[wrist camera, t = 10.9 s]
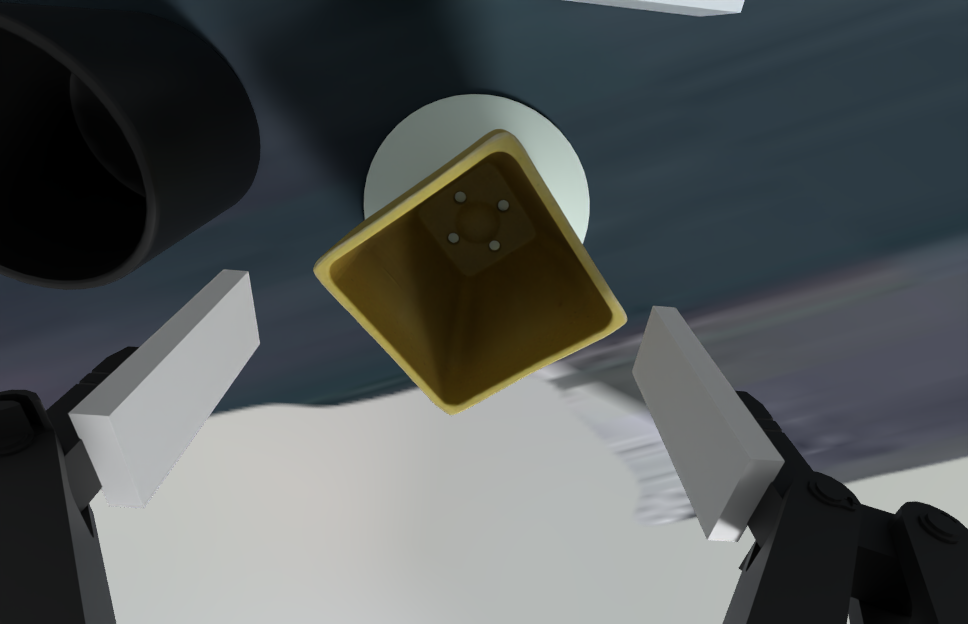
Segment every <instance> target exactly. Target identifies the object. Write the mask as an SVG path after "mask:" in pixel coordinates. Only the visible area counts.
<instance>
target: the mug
mask: <svg viewBox="0 0 968 624" xmlns="http://www.w3.org/2000/svg"><path fill="white" fill-rule="evenodd" d="M259 160H260V136H259V127H258V124H257V120H256V116H255V113H254V110H253V107H252V105H251V102H250V100H249V97H248V95H247V93H246V92H245V90H244V88H243V86H242V85H241V83H240V81H239V80H238V78H237V77H236V76H235V74H234V73H233V71H232V70H231V69H230V67H229V66H228V65H227V64H226V63H225V62H224V61H223V60H222V58H221V57H220V56H219V55H218V54H217V53H216V52H215V51H214V50H213V49H212V48H211V47H209V46H208V45H207V44H206V43H205V42H203V41H202V40H201V39H200V38H199V37H197V36H196V35H194V34H192V33H191V32H189V31H188V30H186V29H185V28H183V27H181V26H179V25H177V24H175V23H173V22H171V21H169V20H167V19H164V18H161V17H157V16H154V15H151V14H146V13H140V12H133V11H120V10H105V9H90V8H76V7H61V6H46V5H31V4H16V3H1V2H0V274H2V275H5V276H7V277H10V278H13V279H16V280H18V281H21V282H24V283H28V284H33V285H37V286H41V287H47V288H55V289H64V290H68V289H87V288H93V287H98V286H104V285H106V284H109V283H112V282H114V281H117V280H119V279H121V278H123V277H125V276H126V275H128V274H129V273H131V272H133V271H134V270H136V269H137V268H139V267H140V266H142V265H143V264H145V263H146V262H148V261H149V260H151V259H152V258H154V257H155V256H157V255H158V254H160V253H162V252H163V251H165V250H166V249H168V248H169V247H171V246H172V245H174V244H175V243H177V242H178V241H180V240H181V239H183V238H184V237H186V236H187V235H189V234H190V233H192V232H194V231H195V230H197V229H198V228H200V227H201V226H203V225H204V224H206V223H207V222H209V221H210V220H212V219H213V218H215V217H216V216H218V215H219V214H221V213H222V212H224V211H225V210H227V209H229V208H230V207H232V206H233V205H235V204H236V203H237V202H238V201H239V200H240V199H241V198H242V197H243V196H244V195H245V194H246V192H247V191H248V189H249V188H250V186H251V185H252V183H253V180H254V178H255V176H256V173H257V169H258V165H259Z"/></svg>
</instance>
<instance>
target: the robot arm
mask: <svg viewBox="0 0 968 624" xmlns="http://www.w3.org/2000/svg"><path fill="white" fill-rule="evenodd" d="M259 344H260V341H259V335H258V328H257V322H256V316H255V309H254V303H253V297H252V291H251V284H250V278H249V272H248V271H237V270H226V269H223V270H222V271H221V272H220V273H219V274H218V275H217V276H216V277H215V278H214V279H213V280H212V281H210V282H209V283H208V284H207V285H206V286H205V287H204V288H203V289H202V290H201V291H200V292H199V293H198V294H196V295H195V296H194V297H193V298H192V299H191V300H190V301H189V302H188V303H187V304H186V305H185V306H184V307H182V308H181V309H180V310H179V311H178V312H177V313H176V314H175V315H174V316H173V317H172V318H171V319H170V320H168V321H167V322H166V323H165V324H164V325H163V326H162V327H161V328H160V329H159V330H158V331H157V332H156V333H154V334H153V335H152V336H151V337H150V338H149V339H148V340H147V341H146V342H145V343H144V344H143V345H141V346H140V347H129V346H128V347H126V348H124V349H123V350H121V351H119V352H117V353H115V354H113V355H111V356H109V357H107V358H106V359H105V360H104V361H102V362H101V363H100V364H99V365H98V366H97V367H96V368H94V369H93V370H92V373H89V374H88V375H86V376H85V377H84V378H83V379H82V380H81V381H80V383H79V384H76V385H75V386H74V387H73V388H71V389H70V390H69V391H68V392H67V393H66V394H65V395H63V396H62V397H61V398H60V399H59V400H58V401H57V402H55V403H54V404H53V405H52V406H51V407H50V408H49V409H47V410H46V411H45V409H44V407H43V404H42V402H41V400H40V398H39V397H38V396H37V394H36V393H34V392H31V391H28V390H8V391H3V392H0V624H116V620H115V616H114V610H113V606H112V601H111V596H110V591H109V587H108V582H107V577H106V572H105V567H104V563H103V558H102V553H101V548H100V543H99V538H98V534H97V529H96V524H95V519H94V515H93V511H92V509H91V507H90V505H89V502H90V501H91V500H92V499H93V498H94V496H95V495H96V494H97V493H98V492H99V490H100V489H102V491H103V494H104V496H105V498H106V501H107V503H108V505H109V506H116V507H133V508H145V506H146V505H147V503H148V502H149V501H150V499H151V498H152V496H153V495H154V494H155V492H156V491H157V489H158V488H159V486H160V485H161V484H162V482H163V481H164V479H165V478H166V476H167V475H168V474H169V472H170V471H171V469H172V468H173V467H174V465H175V464H176V462H177V461H178V459H179V458H180V457H181V455H182V454H183V452H184V451H185V449H186V448H187V446H188V445H189V444H190V442H191V441H192V439H193V438H194V437H195V435H196V434H197V432H198V431H199V429H200V428H201V427H202V425H203V424H204V422H205V421H206V420H207V418H208V417H209V415H210V414H211V413H212V411H213V410H214V408H215V407H216V405H217V404H218V403H219V401H220V400H221V398H222V397H223V395H224V394H225V393H226V391H227V390H228V388H229V387H230V385H231V384H232V383H233V381H234V380H235V378H236V377H237V376H238V374H239V373H240V371H241V370H242V368H243V367H244V366H245V364H246V363H247V361H248V360H249V358H250V357H251V356H252V354H253V353H254V351H255V350H256V349H257V347H258V346H259ZM632 373H633V376H634V378H635V380H636V382H637V384H638V387H639V389H640V391H641V393H642V396H643V398H644V400H645V402H646V404H647V407H648V409H649V411H650V413H651V416H652V418H653V420H654V422H655V424H656V427H657V429H658V431H659V433H660V436H661V438H662V440H663V442H664V445H665V447H666V449H667V451H668V453H669V456H670V458H671V460H672V462H673V465H674V467H675V469H676V471H677V473H678V476H679V478H680V480H681V482H682V485H683V487H684V489H685V491H686V493H687V496H688V498H689V500H690V502H691V505H692V507H693V509H694V511H695V513H696V516H697V518H698V520H699V522H700V525H701V527H702V529H703V531H704V533H705V536H706V538H707V540H720V541H735V542H738V541H739V539H740V537H741V536H742V534H743V532H744V531H745V529H746V527H747V525H748V526H749V528H750V530H751V532H752V534H753V536H754V537H755V539H756V541H755V542H754V544H753V546H752V547H751V549H750V551H749V552H748V554H747V555H746V557H745V559H744V560H743V562H742V564H741V565H740V567H739V569H741V570H742V573H741V576H740V578H739V581H738V584H737V586H736V589H735V592H734V594H733V597H732V600H731V603H730V605H729V608H728V611H727V613H726V616H725V619H724V621H723V624H847V618H848V614H849V619H850V624H968V529H967V528H966V527H965V526H964V525H963V524H961V523H960V522H959V521H958V520H957V519H955V518H954V517H952V516H950V515H949V514H948V513H946V512H944V511H942V510H940V509H938V508H935V507H933V506H931V505H928V504H924V503H920V502H906V503H905V504H904V505H903V506H901V507H900V509H899V510H898V511H897V512H896V514H892V513H889V512H886V511H882V510H879V509H876V508H872V507H869V506H866V505H863V504H861V503H860V502H859V500H858V499H857V498H856V496H855V495H854V494H853V493H852V492H851V491H850V490H849V489H848V488H847V487H846V486H845V485H843V484H842V483H840V482H838V481H837V480H835V479H833V478H832V477H830V476H827V475H824V474H822V473H819V472H814V471H813V470H812V469H811V467H810V466H809V465H808V464H807V462H806V461H805V460H804V458H803V457H802V456H801V454H800V453H799V452H798V450H797V449H796V448H795V446H794V445H793V444H792V443H791V441H790V440H789V439H788V437H787V436H786V435H785V433H782V429H781V428H780V427H779V425H778V424H777V423H776V422H775V421H773V418H772V416H771V415H770V414H769V412H768V411H767V410H766V408H765V407H764V406H763V404H761V403H760V402H759V401H757V400H756V399H755V398H754V397H752V396H751V395H750V394H748V393H747V392H744V391H734V389H733V388H732V386H731V385H730V384H729V382H728V381H727V379H726V378H725V377H724V375H723V374H722V372H721V371H720V370H719V368H718V367H717V365H716V364H715V363H714V361H713V360H712V358H711V357H710V356H709V354H708V353H707V351H706V350H705V349H704V347H703V346H702V344H701V343H700V342H699V340H698V339H697V337H696V336H695V335H694V333H693V332H692V330H691V329H690V327H689V326H688V325H687V323H686V322H685V320H684V319H683V318H682V316H681V315H680V313H679V312H678V311H677V309H676V308H673V307H661V306H653V307H652V310H651V314H650V317H649V320H648V323H647V326H646V329H645V333H644V336H643V339H642V342H641V345H640V348H639V351H638V355H637V358H636V361H635V364H634V367H633V370H632Z"/></svg>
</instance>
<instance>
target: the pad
mask: <svg viewBox="0 0 968 624" xmlns="http://www.w3.org/2000/svg"><path fill="white" fill-rule="evenodd" d="M495 129H504V130H506V131H508V132H510V133H511V134H513V135H514V136H516V138H517V139H518V140H519V141H520V143H521V144H522V145H523V147H524V149H525V150H526V152H527V153H528V155H529V157H530V159H531V160H532V162H533V164H534V166H535V167H536V169H537V171H538V172H539V174H540V175H541V177H542V179H543V180H544V182H545V184H546V185H547V187H548V188H549V190H550V192H551V193H552V195H553V197H554V198H555V200H556V202H557V203H558V205H559V207H560V208H561V210H562V212H563V213H564V215H565V216H566V218H567V220H568V221H569V223H570V225H571V226H572V228H573V230H574V231H575V233H576V235H577V236H578V238H579V239H580V241H581V243H582V244H583V241H584V238H585V234H586V231H587V227H588V220H589V201H590V200H589V192H588V185H587V181H586V177H585V173H584V170H583V168H582V165H581V163H580V161H579V158H578V156H577V154H576V153H575V151H574V149H573V148H572V146H571V144H570V143H569V142H568V140H567V139H566V138H565V137H564V135H563V134H562V133H561V132H560V130H559V129H557V128H556V127H555V126H554V125H553V124H552V123H551V122H550V121H549V120H548V119H546V118H545V117H544V116H542V115H541V114H539V113H538V112H536V111H535V110H533V109H531V108H529V107H527V106H525V105H523V104H521V103H519V102H516V101H513V100H510V99H507V98H504V97H499V96H493V95H486V94H466V95H457V96H452V97H448V98H444V99H440V100H438V101H435V102H433V103H430V104H428V105H425V106H424V107H422V108H420V109H418V110H417V111H415V112H413V113H412V114H410V115H409V116H408V117H407V118H405V119H404V120H403V121H402V122H400V123H399V124H398V125H397V126H396V127H395V128H394V129H393V130H392V132H391V133H390V134H389V135H388V136H387V137H386V139H385V140H384V142H383V143H382V144H381V146H380V147H379V149H378V151H377V153H376V155H375V157H374V159H373V161H372V163H371V166H370V169H369V172H368V175H367V179H366V185H365V190H364V215H365V220H366V219H367V218H368V217H370V216H371V215H373V214H374V213H376V212H377V211H379V210H380V209H382V208H383V207H385V206H386V205H388V204H389V203H390V202H392V201H393V200H395V199H396V198H398V197H399V196H401V195H402V194H403V193H405V192H406V191H408V190H409V189H411V188H412V187H414V186H415V185H416V184H418V183H419V182H421V181H422V180H424V179H425V178H426V177H428V176H429V175H431V174H432V173H434V172H435V171H436V170H438V169H439V168H441V167H442V166H443V165H445V164H446V163H448V162H449V161H450V160H452V159H453V158H454V157H456V156H457V155H459V154H460V153H461V152H463V151H464V150H465V149H467V148H468V147H470V146H471V145H472V144H474V143H475V142H476V141H477V140H479V139H480V138H481V137H483V136H484V135H486V134H487V133H489V132H490V131H493V130H495ZM455 199H456V200H457V201H458V202H463V201H465V199H466V195H465V194H464V193H463V192H457V193H456V195H455ZM508 207H509V204H508V202H507V201H505V200H501V201H500V202H499V203H498V208H499V209H500V210H502V211H504V210H507V209H508ZM448 238H449V240H450V241H451V242H453V243H455V242H457V241H458V240H459V237H458V235H457V234H455V233H451V234H449V237H448ZM489 246H490V248H491V249H492V250H497V249H498V248H499V247H500V244H499V242H497V241H492V242H491V243H490V244H489Z"/></svg>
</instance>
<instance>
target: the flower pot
mask: <svg viewBox="0 0 968 624" xmlns="http://www.w3.org/2000/svg"><path fill="white" fill-rule="evenodd" d="M457 192H463V193H464V194H465V195H466V199H465V201H463V202H458V201H457V200H456V199H455V195H456V193H457ZM501 200H505V201H507V202H508V204H509V207H508V209H507V210H504V211H502V210H500V209H499V208H498V203H499V202H500V201H501ZM451 233H455V234H457V235H458V237H459V240H458V241H457V242H455V243H453V242H451V241H450V240H449V238H448V237H449V234H451ZM492 241H497V242H499V244H500V247H499V248H498V249H497V250H492V249H491V248H490V246H489V244H490V243H491V242H492ZM313 271H314V274H315V275H316V277H317V278H318V279H319V281H320V282H321V283H322V284H323V285H324V286H325V288H326V289H327V290H328V291H329V292H330V293H331V294H332V295H333V296H334V297H335V298H336V299H337V301H338V302H339V303H340V304H341V305H342V306H343V307H344V308H345V309H346V310H347V311H348V312H349V313H350V314H351V315H352V316H353V317H354V318H355V319H356V320H357V321H358V322H359V323H360V324H361V326H362V327H363V328H364V329H365V330H366V331H367V332H368V333H369V334H370V335H371V336H372V337H373V338H374V339H375V340H376V341H377V342H378V343H379V344H380V345H381V346H382V347H383V348H384V350H385V351H386V352H387V353H388V354H389V355H390V356H391V357H392V358H393V359H394V361H395V362H396V363H397V364H398V365H399V366H400V367H401V368H402V369H403V370H404V371H405V372H406V374H407V375H408V376H409V377H410V378H411V379H412V380H413V381H414V383H415V384H416V385H417V386H418V387H419V388H420V389H421V390H422V391H423V392H424V393H425V394H426V395H427V396H428V398H429V399H430V400H431V401H432V402H433V403H434V404H435V405H436V406H438V407H439V408H440V409H441V410H443V411H444V412H446V413H447V414H449V415H454V414H457V413H460V412H462V411H464V410H466V409H468V408H470V407H472V406H474V405H475V404H477V403H479V402H481V401H482V400H484V399H486V398H488V397H490V396H491V395H493V394H495V393H497V392H499V391H500V390H502V389H504V388H506V387H508V386H509V385H511V384H513V383H515V382H517V381H518V380H520V379H522V378H524V377H526V376H528V375H529V374H531V373H533V372H535V371H537V370H539V369H541V368H543V367H545V366H547V365H549V364H551V363H553V362H555V361H557V360H559V359H561V358H564V357H566V356H568V355H570V354H572V353H574V352H576V351H578V350H580V349H582V348H584V347H586V346H588V345H590V344H592V343H594V342H596V341H598V340H600V339H602V338H604V337H606V336H608V335H609V334H611V333H612V332H614V331H615V330H617V329H618V328H620V327H621V326H623V325H624V324H625V323H626V322H627V316H626V313H625V311H624V309H623V308H622V306H621V305H620V303H619V302H618V300H617V299H616V297H615V296H614V294H613V293H612V291H611V289H610V288H609V286H608V285H607V283H606V281H605V280H604V278H603V277H602V275H601V273H600V272H599V270H598V269H597V267H596V265H595V264H594V262H593V261H592V259H591V257H590V256H589V254H588V253H587V251H586V249H585V248H584V246H583V244H582V243H581V241H580V239H579V238H578V236H577V235H576V233H575V231H574V230H573V228H572V226H571V225H570V223H569V221H568V220H567V218H566V216H565V215H564V213H563V212H562V210H561V208H560V207H559V205H558V203H557V202H556V200H555V198H554V197H553V195H552V193H551V192H550V190H549V188H548V187H547V185H546V184H545V182H544V180H543V179H542V177H541V175H540V174H539V172H538V171H537V169H536V167H535V166H534V164H533V162H532V160H531V159H530V157H529V155H528V153H527V152H526V150H525V149H524V147H523V145H522V144H521V143H520V141H519V140H518V139H517V138H516V136H514V135H513V134H511V133H510V132H508V131H506V130H504V129H495V130H493V131H490V132H489V133H487V134H486V135H484V136H483V137H481V138H480V139H479V140H477V141H476V142H475V143H474V144H472V145H471V146H470V147H468V148H467V149H465V150H464V151H463V152H461V153H460V154H459V155H457V156H456V157H454V158H453V159H452V160H450V161H449V162H448V163H446V164H445V165H443V166H442V167H441V168H439V169H438V170H436V171H435V172H434V173H432V174H431V175H429V176H428V177H426V178H425V179H424V180H422V181H421V182H419V183H418V184H416V185H415V186H414V187H412V188H411V189H409V190H408V191H406V192H405V193H403V194H402V195H401V196H399V197H398V198H396V199H395V200H393V201H392V202H390V203H389V204H388V205H386V206H385V207H383V208H382V209H380V210H379V211H377V212H376V213H374V214H373V215H371V216H370V217H368V218H367V219H366V220H364V221H363V222H362V223H360V224H359V225H358V226H357V227H355V228H354V229H353V230H352V231H350V232H349V233H348V234H347V235H346V236H345V237H343V238H342V239H341V240H340V241H339V242H338V243H336V244H335V245H334V246H333V247H332V248H330V249H329V250H328V251H327V252H326V253H325V254H324V255H323V256H321V257H320V258H319V259H318V260H317V261H316V263H315V265H314V268H313Z"/></svg>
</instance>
